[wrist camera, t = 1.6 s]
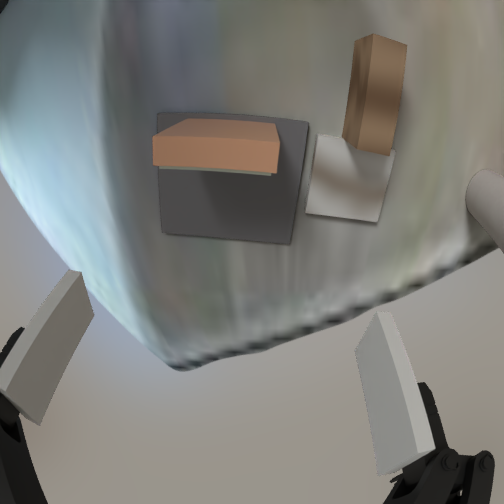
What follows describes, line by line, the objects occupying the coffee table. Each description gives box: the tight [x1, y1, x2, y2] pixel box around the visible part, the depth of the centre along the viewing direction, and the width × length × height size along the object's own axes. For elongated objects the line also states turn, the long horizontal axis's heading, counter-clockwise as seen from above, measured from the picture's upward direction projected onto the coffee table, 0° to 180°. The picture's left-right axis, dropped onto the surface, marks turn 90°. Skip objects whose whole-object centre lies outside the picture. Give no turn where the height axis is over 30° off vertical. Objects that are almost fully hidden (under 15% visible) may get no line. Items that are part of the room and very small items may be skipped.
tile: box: [153, 118, 280, 176], centre depth 21 cm, size 2×8×9 cm, turn 85°
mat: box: [157, 113, 308, 244], centre depth 27 cm, size 13×14×1 cm
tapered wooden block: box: [304, 34, 407, 222], centre depth 22 cm, size 18×8×5 cm, turn 175°
